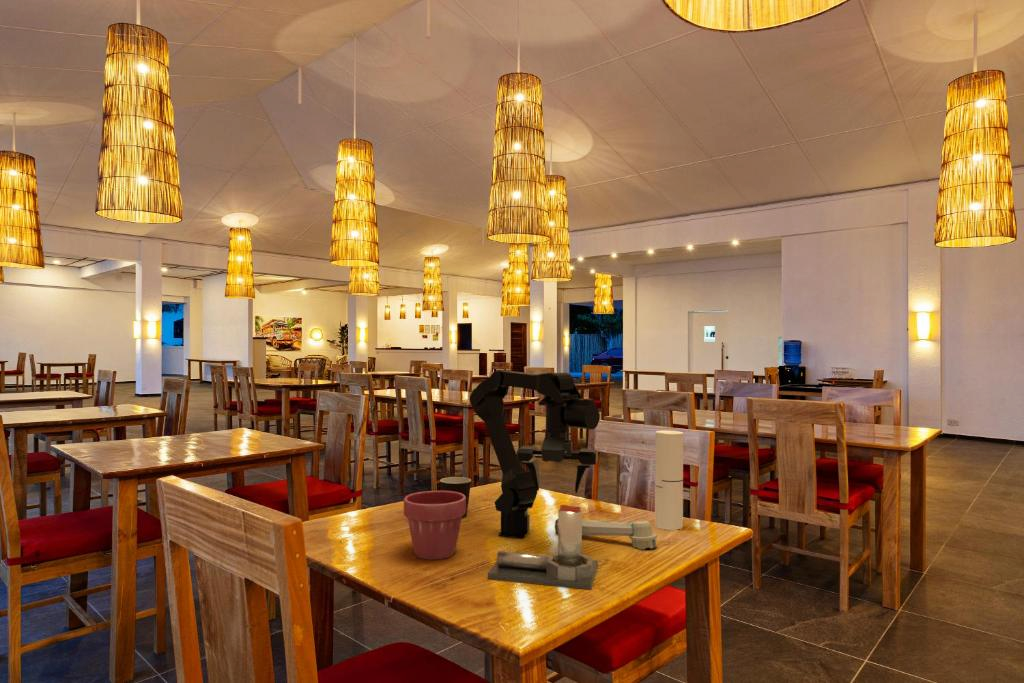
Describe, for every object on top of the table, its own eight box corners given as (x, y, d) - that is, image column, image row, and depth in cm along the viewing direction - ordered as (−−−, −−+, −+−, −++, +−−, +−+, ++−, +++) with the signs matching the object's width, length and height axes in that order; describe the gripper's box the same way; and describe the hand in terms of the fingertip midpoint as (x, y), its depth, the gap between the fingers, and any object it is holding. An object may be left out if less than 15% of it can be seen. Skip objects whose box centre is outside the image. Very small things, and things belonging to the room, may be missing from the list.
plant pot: (402, 544, 143) (403, 490, 144) (461, 541, 146) (462, 488, 146) (403, 565, 129) (404, 505, 129) (469, 562, 132) (469, 503, 132)
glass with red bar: (551, 573, 123) (552, 507, 123) (564, 565, 127) (565, 501, 127) (575, 579, 120) (575, 511, 120) (587, 571, 124) (588, 505, 124)
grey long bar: (561, 515, 157) (656, 515, 145) (564, 542, 156) (660, 543, 145) (552, 520, 152) (650, 520, 141) (555, 547, 151) (654, 549, 140)
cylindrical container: (678, 531, 156) (678, 434, 157) (651, 527, 160) (651, 432, 160) (686, 525, 162) (686, 431, 163) (659, 521, 166) (660, 429, 166)
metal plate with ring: (487, 578, 122) (487, 557, 122) (504, 557, 135) (504, 538, 135) (590, 589, 117) (591, 567, 117) (597, 566, 130) (597, 546, 130)
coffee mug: (469, 520, 164) (469, 483, 164) (437, 520, 164) (438, 483, 165) (472, 509, 176) (473, 475, 176) (443, 509, 176) (443, 474, 176)
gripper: (511, 427, 138) (510, 496, 138) (593, 431, 133) (592, 502, 133) (522, 422, 149) (521, 486, 148) (598, 425, 144) (597, 491, 144)
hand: (557, 491), depth 143 cm, fingers open, 9 cm apart
